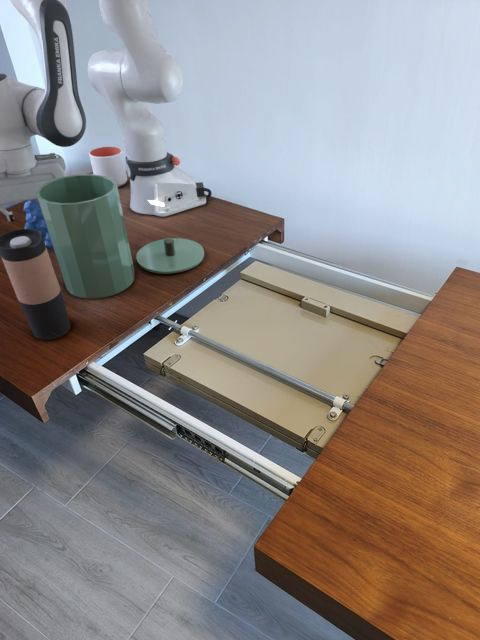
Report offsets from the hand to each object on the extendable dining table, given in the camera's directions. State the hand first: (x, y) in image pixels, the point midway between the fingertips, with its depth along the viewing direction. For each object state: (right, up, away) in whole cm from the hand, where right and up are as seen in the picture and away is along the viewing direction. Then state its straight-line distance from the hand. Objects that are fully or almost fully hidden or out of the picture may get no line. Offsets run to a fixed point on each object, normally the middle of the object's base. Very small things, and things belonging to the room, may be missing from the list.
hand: (32, 216), depth 114 cm
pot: (+19, -16, -6) cm, 25 cm away
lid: (+33, -9, +1) cm, 35 cm away
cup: (+7, +21, +38) cm, 44 cm away
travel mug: (+14, -28, -20) cm, 37 cm away
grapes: (0, -6, +6) cm, 9 cm away
